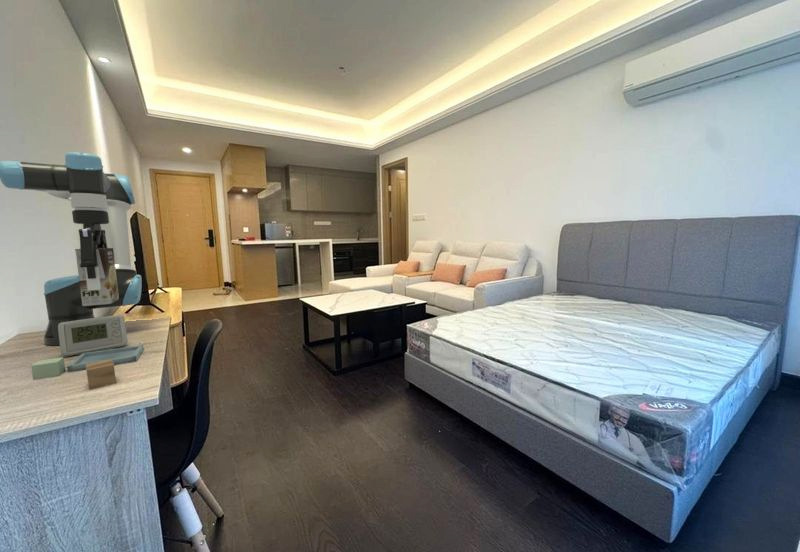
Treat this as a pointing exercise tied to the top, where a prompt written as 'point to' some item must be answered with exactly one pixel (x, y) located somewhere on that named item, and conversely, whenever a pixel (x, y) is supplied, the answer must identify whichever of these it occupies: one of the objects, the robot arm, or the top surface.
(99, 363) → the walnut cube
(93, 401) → the top surface
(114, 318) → the digital clock
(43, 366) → the sage block
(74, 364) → the tray
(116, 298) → the coffee box
